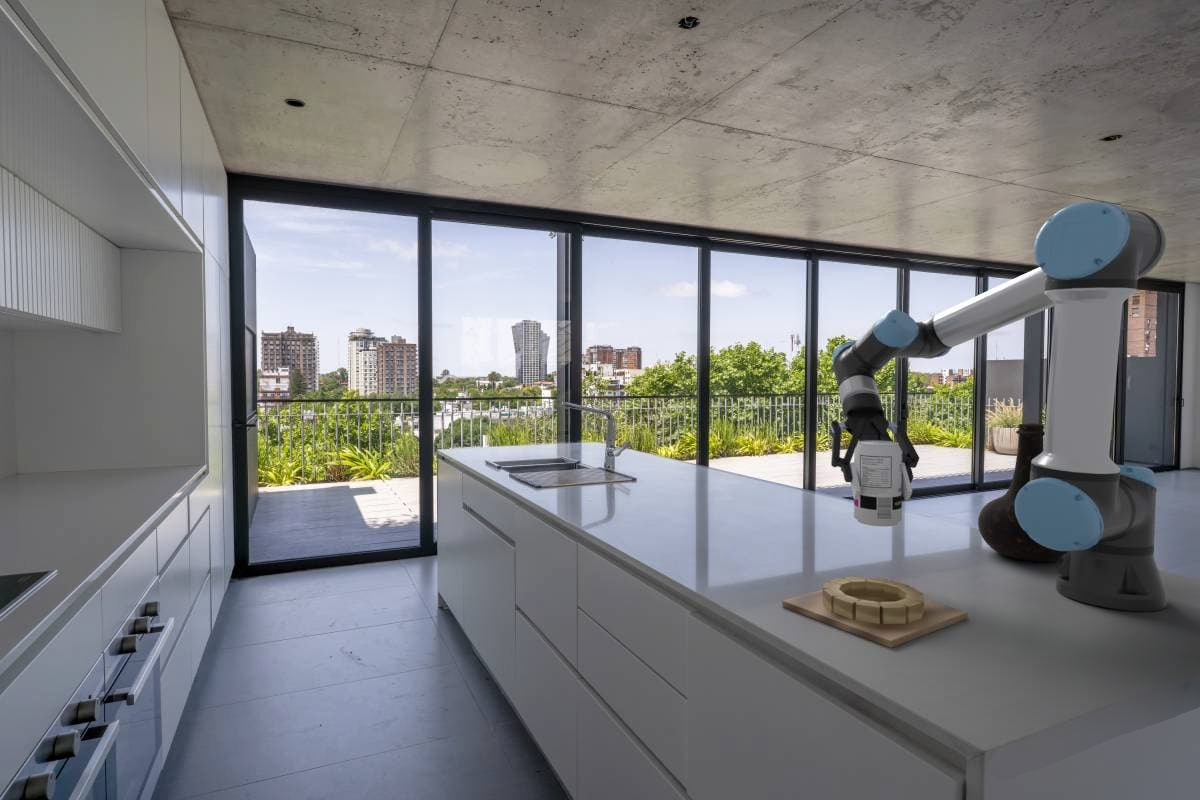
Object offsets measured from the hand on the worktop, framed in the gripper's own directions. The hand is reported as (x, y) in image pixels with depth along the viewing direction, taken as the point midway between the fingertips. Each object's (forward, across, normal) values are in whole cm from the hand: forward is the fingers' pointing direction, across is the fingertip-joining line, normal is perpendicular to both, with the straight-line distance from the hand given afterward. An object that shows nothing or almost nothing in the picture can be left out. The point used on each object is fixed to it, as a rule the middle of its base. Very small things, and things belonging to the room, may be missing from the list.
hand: (882, 495), depth 121 cm
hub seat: (+22, +5, -2) cm, 23 cm away
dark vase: (-4, -35, -28) cm, 45 cm away
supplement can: (+2, 0, -6) cm, 7 cm away
